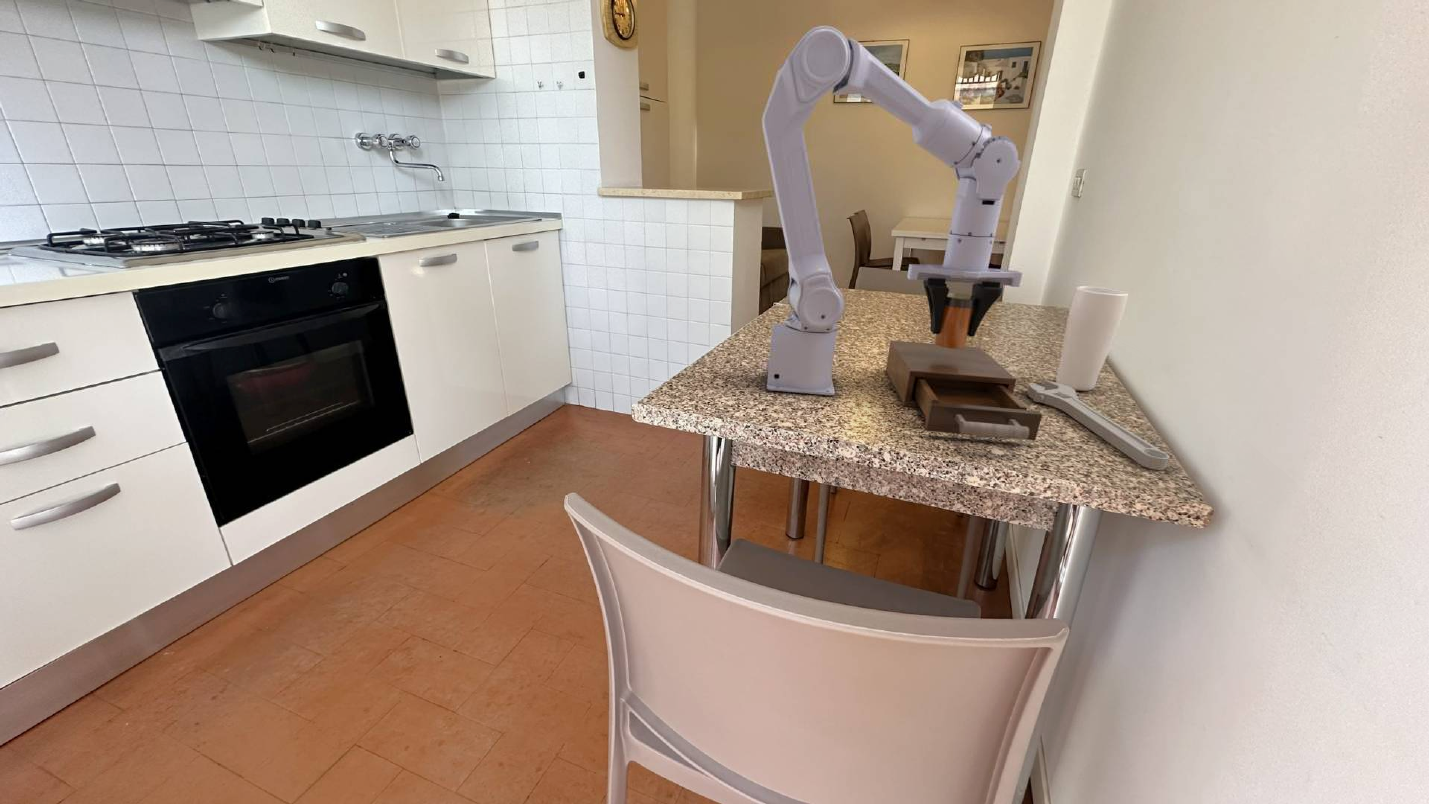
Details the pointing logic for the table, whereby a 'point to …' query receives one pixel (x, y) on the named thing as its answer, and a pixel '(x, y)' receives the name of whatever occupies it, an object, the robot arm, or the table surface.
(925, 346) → the cabinet
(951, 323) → the spice jar
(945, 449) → the table surface
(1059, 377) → the drinking glass
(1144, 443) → the adjustable wrench
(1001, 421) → the drawer
